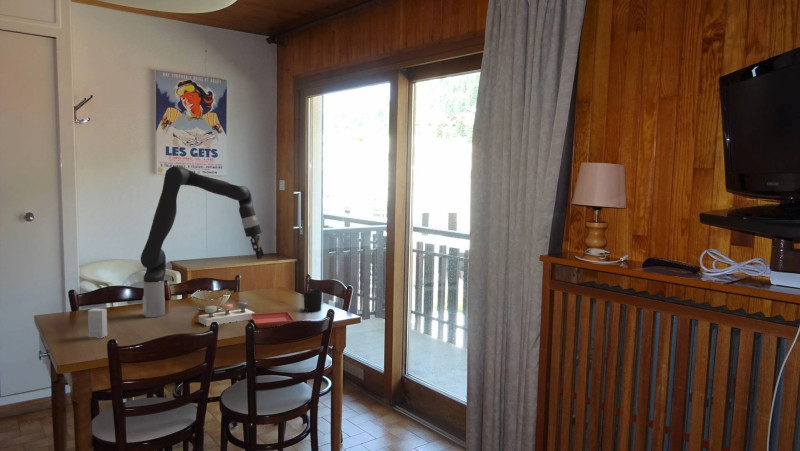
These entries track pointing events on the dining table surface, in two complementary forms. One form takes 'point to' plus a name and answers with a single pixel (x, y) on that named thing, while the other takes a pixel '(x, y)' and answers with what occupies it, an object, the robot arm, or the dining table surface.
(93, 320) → the skincare box
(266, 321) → the plant saucer
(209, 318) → the button board
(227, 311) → the terracotta button
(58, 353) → the dining table surface
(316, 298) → the pen holder
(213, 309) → the sage button
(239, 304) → the charcoal button
